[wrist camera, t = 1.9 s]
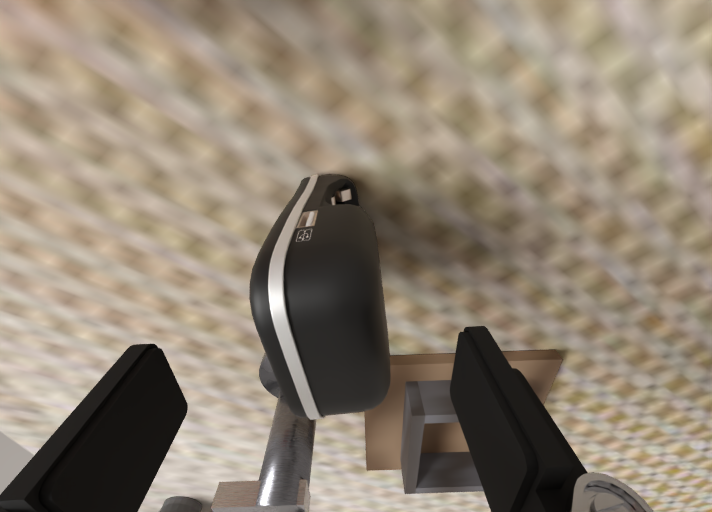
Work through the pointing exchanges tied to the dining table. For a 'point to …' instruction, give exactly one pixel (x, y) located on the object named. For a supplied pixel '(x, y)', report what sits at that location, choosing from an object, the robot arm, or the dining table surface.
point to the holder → (435, 420)
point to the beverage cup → (181, 505)
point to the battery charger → (323, 302)
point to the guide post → (275, 463)
